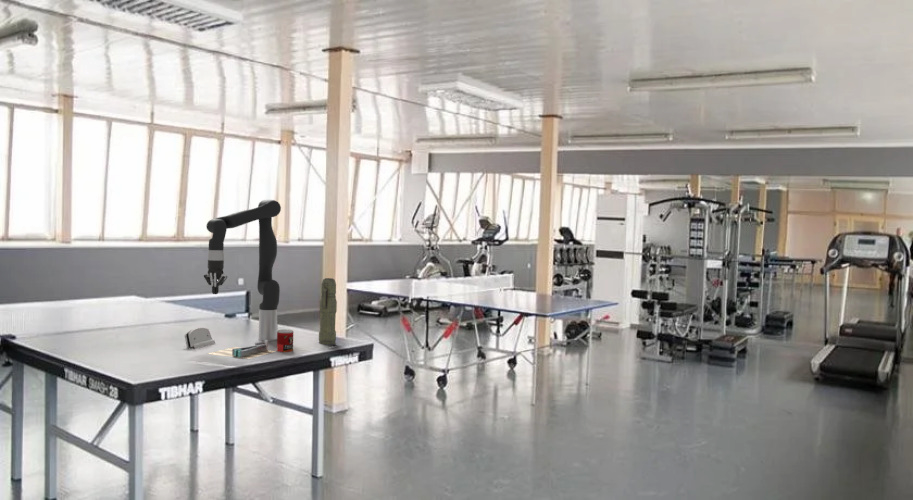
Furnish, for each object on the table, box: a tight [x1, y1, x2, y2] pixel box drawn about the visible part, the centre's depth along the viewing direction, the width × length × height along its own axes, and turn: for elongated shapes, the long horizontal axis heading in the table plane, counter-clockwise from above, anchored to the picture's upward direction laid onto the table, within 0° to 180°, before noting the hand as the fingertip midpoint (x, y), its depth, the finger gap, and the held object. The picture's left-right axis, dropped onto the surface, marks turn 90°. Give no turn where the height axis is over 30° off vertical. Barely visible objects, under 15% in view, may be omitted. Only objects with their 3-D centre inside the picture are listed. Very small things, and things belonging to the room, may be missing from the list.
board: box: [207, 346, 277, 360], centre depth 325 cm, size 21×24×1 cm
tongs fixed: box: [237, 340, 269, 359], centre depth 323 cm, size 20×3×5 cm, turn 161°
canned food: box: [276, 329, 294, 353], centre depth 333 cm, size 8×8×11 cm
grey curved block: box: [184, 327, 216, 350], centre depth 345 cm, size 17×5×10 cm, turn 164°
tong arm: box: [232, 341, 265, 356], centre depth 322 cm, size 18×3×4 cm, turn 146°
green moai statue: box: [318, 277, 338, 347], centre depth 359 cm, size 9×12×35 cm
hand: (215, 293), depth 340 cm, fingers closed
